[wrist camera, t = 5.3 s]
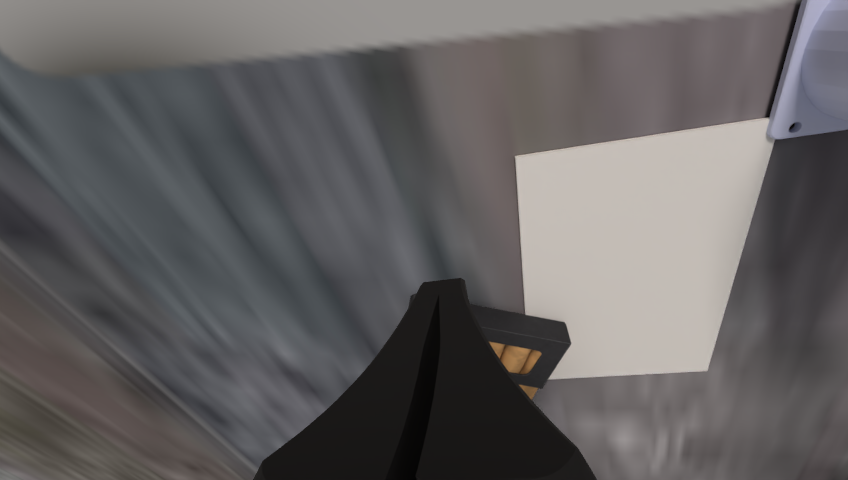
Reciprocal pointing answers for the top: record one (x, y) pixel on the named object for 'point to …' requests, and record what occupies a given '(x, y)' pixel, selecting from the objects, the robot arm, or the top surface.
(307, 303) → the top surface
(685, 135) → the mat
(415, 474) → the robot arm
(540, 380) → the ammunition clip
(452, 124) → the top surface
